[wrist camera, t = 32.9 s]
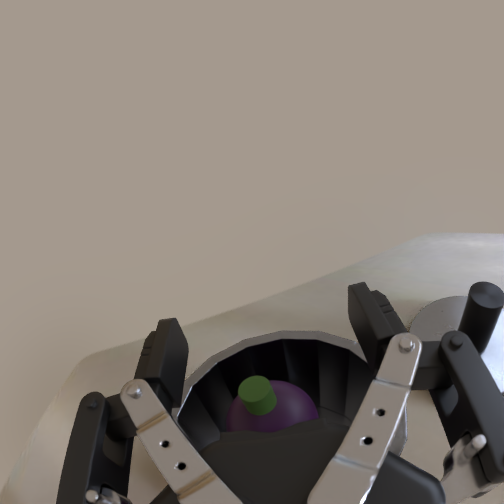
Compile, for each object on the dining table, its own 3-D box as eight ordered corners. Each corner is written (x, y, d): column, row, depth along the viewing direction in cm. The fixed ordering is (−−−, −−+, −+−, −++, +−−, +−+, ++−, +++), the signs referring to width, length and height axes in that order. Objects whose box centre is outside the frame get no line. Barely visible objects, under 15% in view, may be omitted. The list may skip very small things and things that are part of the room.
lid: (521, 314, 24) (538, 264, 20) (519, 415, 14) (556, 366, 11) (421, 294, 33) (428, 244, 29) (387, 386, 23) (399, 334, 20)
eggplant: (341, 451, 18) (328, 364, 13) (305, 504, 15) (265, 454, 10) (287, 429, 22) (245, 337, 16) (250, 475, 18) (182, 404, 13)
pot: (405, 429, 19) (434, 361, 14) (321, 567, 10) (322, 575, 6) (274, 381, 27) (257, 310, 23) (180, 482, 18) (123, 435, 14)
